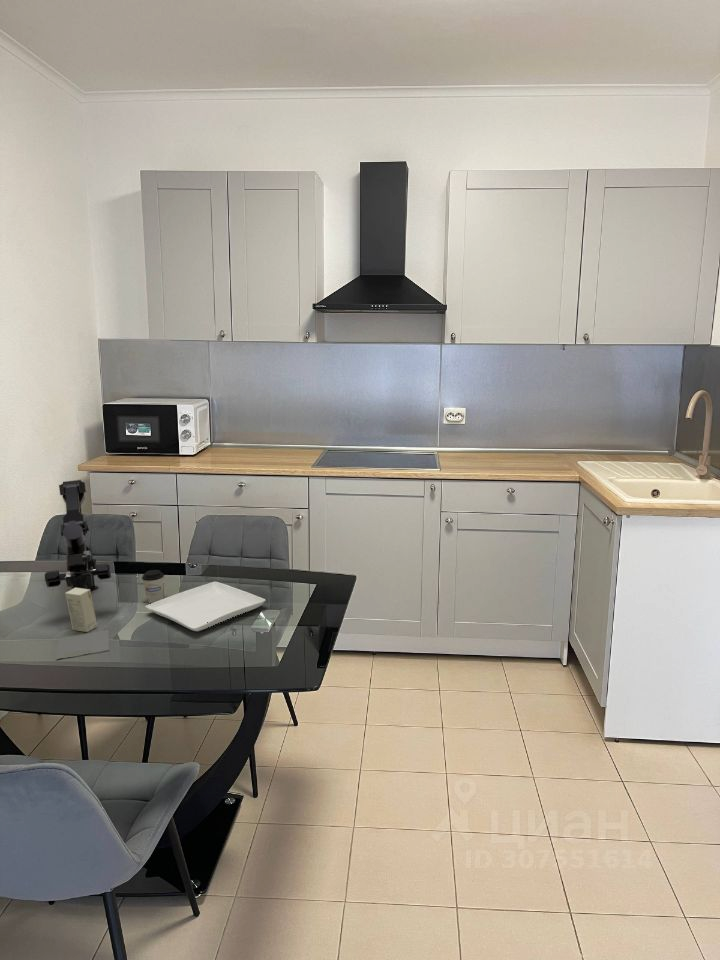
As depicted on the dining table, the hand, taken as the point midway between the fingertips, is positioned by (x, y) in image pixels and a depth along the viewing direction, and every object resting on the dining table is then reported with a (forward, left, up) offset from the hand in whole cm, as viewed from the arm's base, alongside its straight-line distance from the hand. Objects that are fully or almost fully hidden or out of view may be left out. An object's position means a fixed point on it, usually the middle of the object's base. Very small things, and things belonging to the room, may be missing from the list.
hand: (80, 600), depth 222 cm
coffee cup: (-23, +6, -8) cm, 25 cm away
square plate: (-25, +27, -8) cm, 38 cm away
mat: (+9, +12, -8) cm, 17 cm away
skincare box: (+2, +3, -8) cm, 9 cm away
